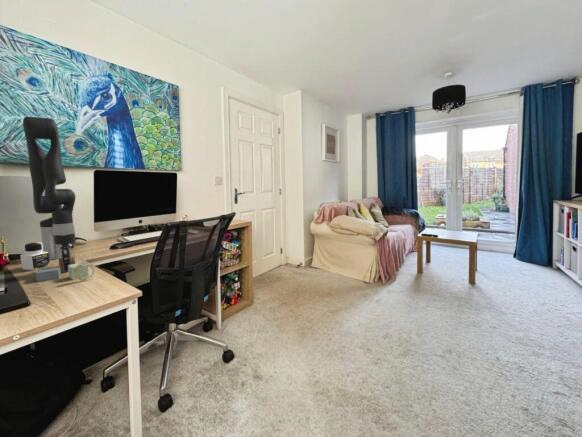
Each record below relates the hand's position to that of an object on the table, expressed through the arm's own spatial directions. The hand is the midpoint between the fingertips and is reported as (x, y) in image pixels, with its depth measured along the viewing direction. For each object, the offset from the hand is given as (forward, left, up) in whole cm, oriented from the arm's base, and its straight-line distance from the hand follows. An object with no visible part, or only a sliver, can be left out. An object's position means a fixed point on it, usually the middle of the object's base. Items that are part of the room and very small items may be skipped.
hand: (67, 268), depth 126 cm
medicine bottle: (-13, -12, -1) cm, 18 cm away
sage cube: (+14, +4, -1) cm, 15 cm away
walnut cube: (0, 0, -1) cm, 1 cm away
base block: (+8, -6, -1) cm, 10 cm away
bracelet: (+21, +6, -1) cm, 22 cm away
